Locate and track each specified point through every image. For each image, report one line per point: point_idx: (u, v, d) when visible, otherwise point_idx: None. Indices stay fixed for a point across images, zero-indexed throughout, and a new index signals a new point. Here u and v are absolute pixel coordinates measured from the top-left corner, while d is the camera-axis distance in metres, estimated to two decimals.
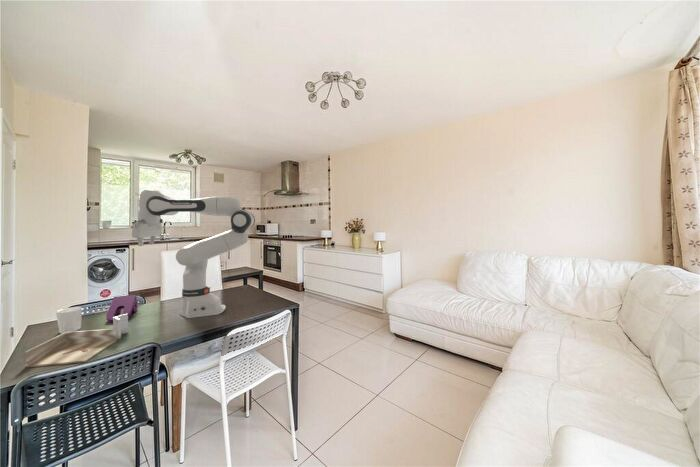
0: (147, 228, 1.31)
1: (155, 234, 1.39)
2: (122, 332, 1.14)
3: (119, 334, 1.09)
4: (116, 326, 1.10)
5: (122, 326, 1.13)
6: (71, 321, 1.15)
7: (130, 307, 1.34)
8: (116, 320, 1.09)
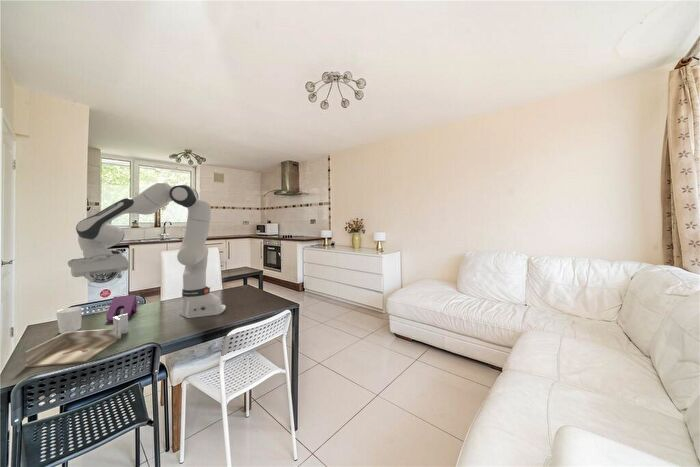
0: (92, 263, 1.17)
1: (115, 266, 1.22)
2: (122, 332, 1.14)
3: (119, 334, 1.09)
4: (116, 326, 1.10)
5: (122, 326, 1.13)
6: (71, 321, 1.15)
7: (130, 307, 1.34)
8: (116, 320, 1.09)
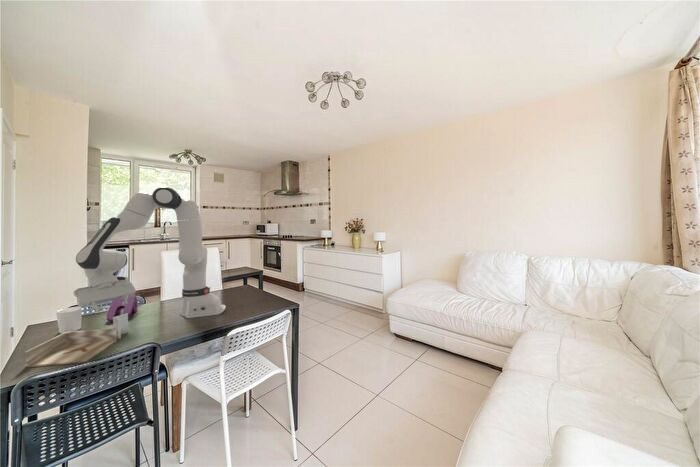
0: (98, 291, 1.16)
1: (121, 293, 1.21)
2: (122, 332, 1.14)
3: (119, 334, 1.09)
4: (116, 326, 1.10)
5: (122, 326, 1.13)
6: (71, 321, 1.15)
7: (130, 307, 1.34)
8: (116, 320, 1.09)
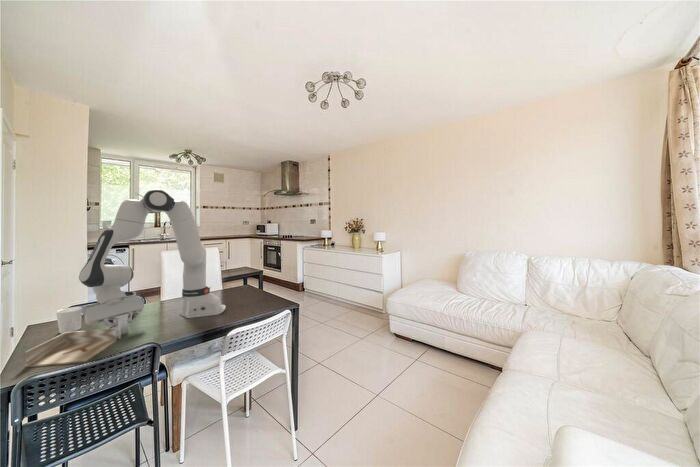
0: (106, 308, 1.12)
1: (130, 309, 1.18)
2: (122, 332, 1.14)
3: (119, 334, 1.09)
4: (116, 326, 1.10)
5: (122, 326, 1.13)
6: (71, 321, 1.15)
7: None
8: (116, 320, 1.09)
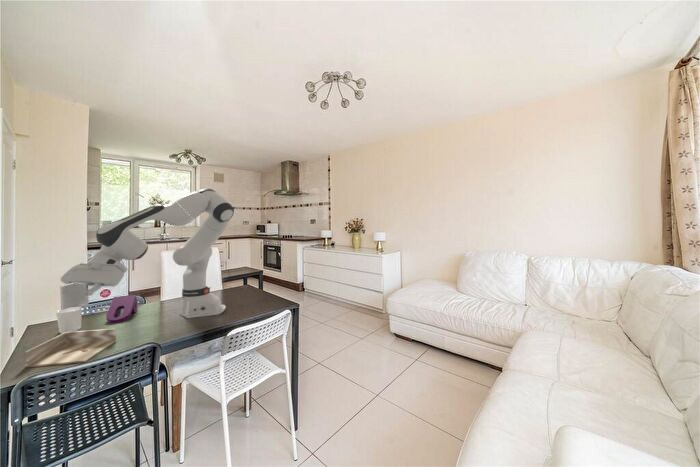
0: (84, 271, 1.01)
1: (97, 279, 0.98)
2: (80, 303, 0.96)
3: (61, 304, 0.92)
4: None
5: (80, 296, 0.96)
6: (71, 321, 1.15)
7: (130, 307, 1.34)
8: None
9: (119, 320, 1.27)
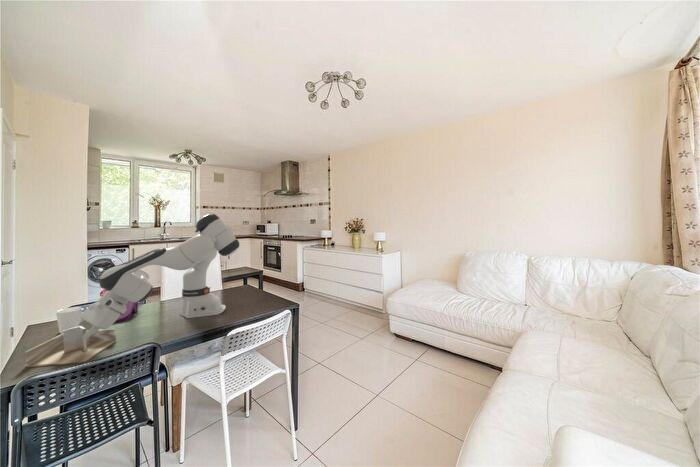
0: (94, 310, 1.04)
1: (93, 321, 0.99)
2: (81, 347, 0.99)
3: None
4: None
5: (81, 340, 0.99)
6: (71, 321, 1.15)
7: (130, 307, 1.34)
8: None
9: (119, 320, 1.27)
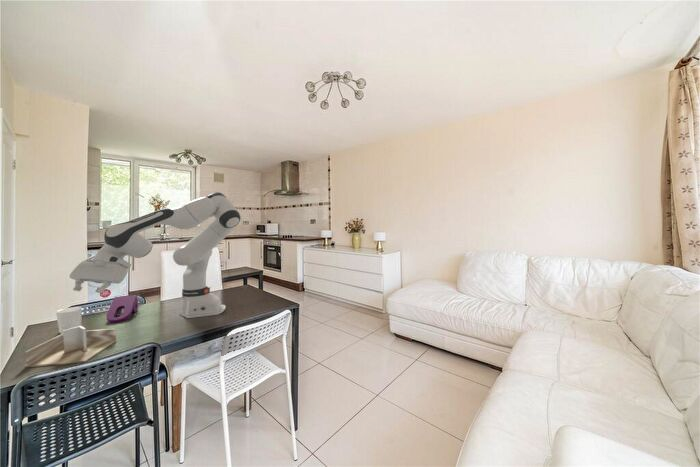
0: (90, 268, 1.04)
1: (102, 277, 1.01)
2: (81, 347, 0.99)
3: None
4: None
5: (81, 340, 0.99)
6: (71, 321, 1.15)
7: (130, 307, 1.34)
8: None
9: (119, 320, 1.27)
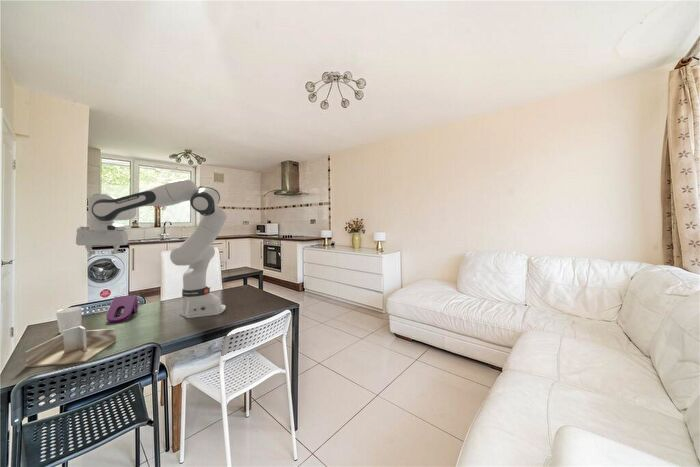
0: (92, 236, 1.21)
1: (110, 243, 1.23)
2: (81, 347, 0.99)
3: None
4: None
5: (81, 340, 0.99)
6: (71, 321, 1.15)
7: (130, 307, 1.33)
8: None
9: (119, 320, 1.27)
